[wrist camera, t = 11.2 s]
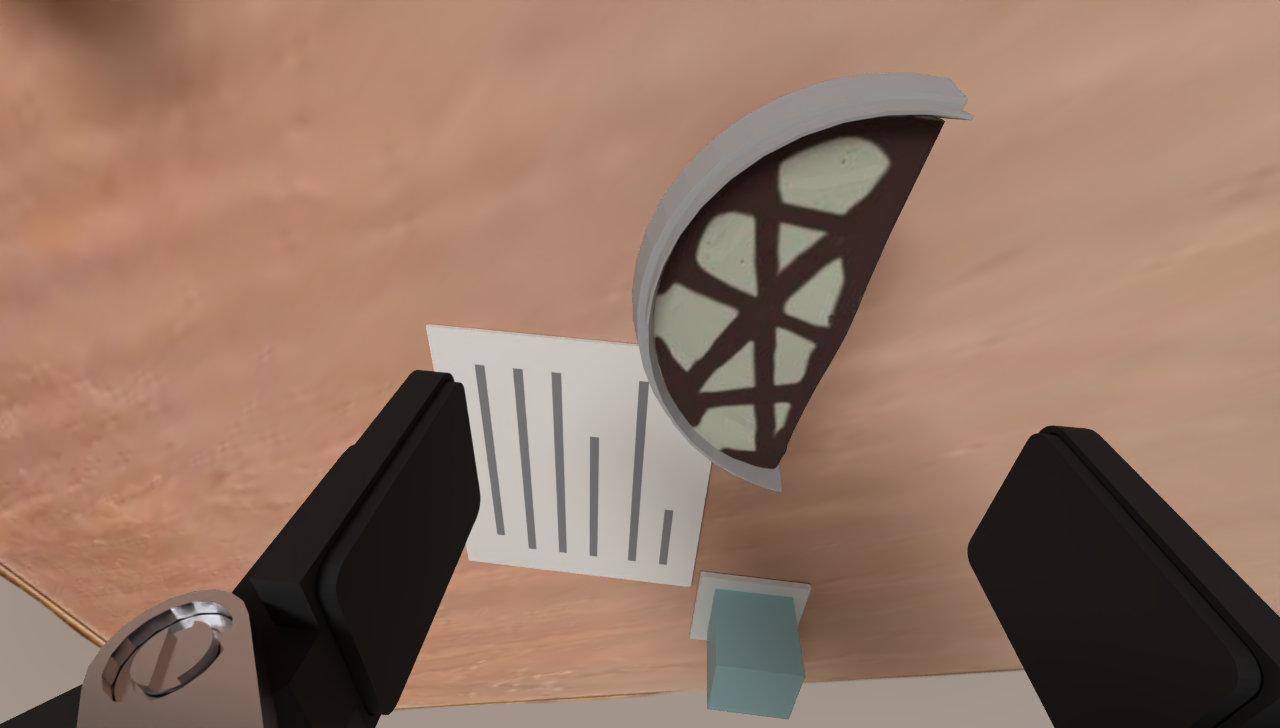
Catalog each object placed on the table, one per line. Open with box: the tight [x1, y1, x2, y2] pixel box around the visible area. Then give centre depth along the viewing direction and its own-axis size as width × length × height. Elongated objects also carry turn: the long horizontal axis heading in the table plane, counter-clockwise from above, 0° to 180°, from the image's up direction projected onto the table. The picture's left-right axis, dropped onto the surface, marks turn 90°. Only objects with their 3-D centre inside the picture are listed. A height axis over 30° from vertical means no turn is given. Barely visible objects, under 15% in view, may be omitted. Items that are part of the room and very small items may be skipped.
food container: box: [632, 73, 974, 493], centre depth 18 cm, size 12×6×10 cm, turn 168°
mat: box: [690, 571, 811, 641], centre depth 36 cm, size 7×7×1 cm
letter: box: [426, 324, 711, 587], centre depth 31 cm, size 15×18×1 cm
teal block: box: [707, 588, 805, 719], centre depth 34 cm, size 5×5×5 cm
